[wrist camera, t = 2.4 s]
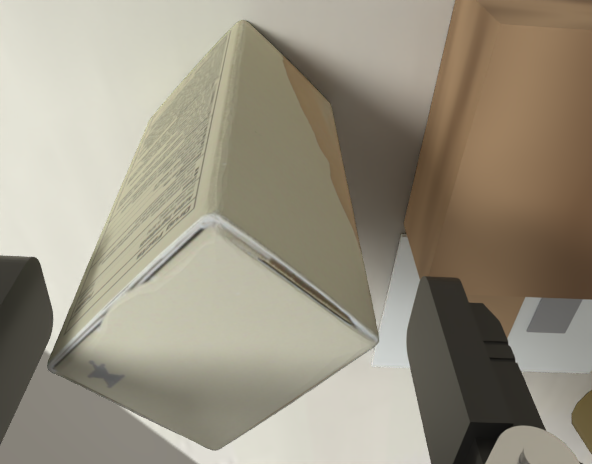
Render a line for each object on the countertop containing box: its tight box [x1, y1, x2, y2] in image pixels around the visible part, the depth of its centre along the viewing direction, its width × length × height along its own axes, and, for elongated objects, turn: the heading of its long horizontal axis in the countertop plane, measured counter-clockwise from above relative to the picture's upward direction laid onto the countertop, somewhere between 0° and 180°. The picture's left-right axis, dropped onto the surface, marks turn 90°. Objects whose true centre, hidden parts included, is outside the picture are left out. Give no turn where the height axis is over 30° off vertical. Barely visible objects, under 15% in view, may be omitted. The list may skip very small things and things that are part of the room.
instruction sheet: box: [371, 234, 592, 374], centre depth 25 cm, size 11×8×1 cm
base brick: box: [404, 0, 592, 300], centre depth 18 cm, size 9×9×4 cm
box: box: [47, 20, 379, 450], centre depth 15 cm, size 5×4×11 cm
